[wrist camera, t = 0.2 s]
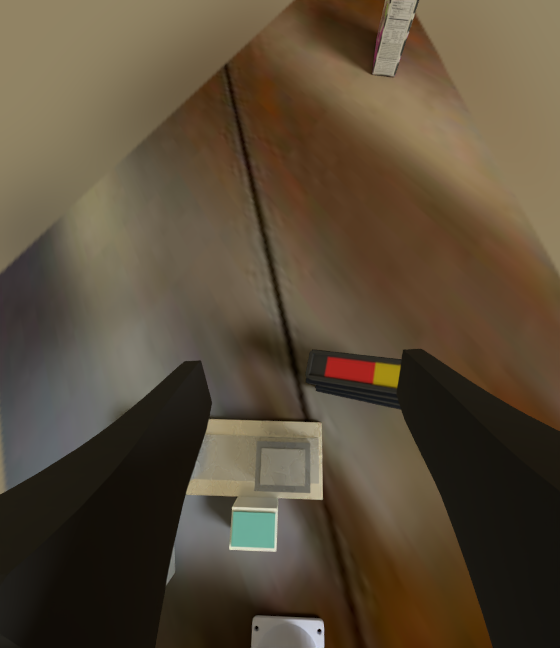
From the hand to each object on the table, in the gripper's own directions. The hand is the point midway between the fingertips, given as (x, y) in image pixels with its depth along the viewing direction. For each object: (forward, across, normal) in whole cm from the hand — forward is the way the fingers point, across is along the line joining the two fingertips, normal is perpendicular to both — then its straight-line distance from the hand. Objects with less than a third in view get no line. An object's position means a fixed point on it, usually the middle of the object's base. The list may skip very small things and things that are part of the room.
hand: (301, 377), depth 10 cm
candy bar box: (+71, -21, -24) cm, 78 cm away
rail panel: (+16, +10, +26) cm, 32 cm away
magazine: (+23, -7, +21) cm, 32 cm away
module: (+12, +6, +31) cm, 34 cm away
